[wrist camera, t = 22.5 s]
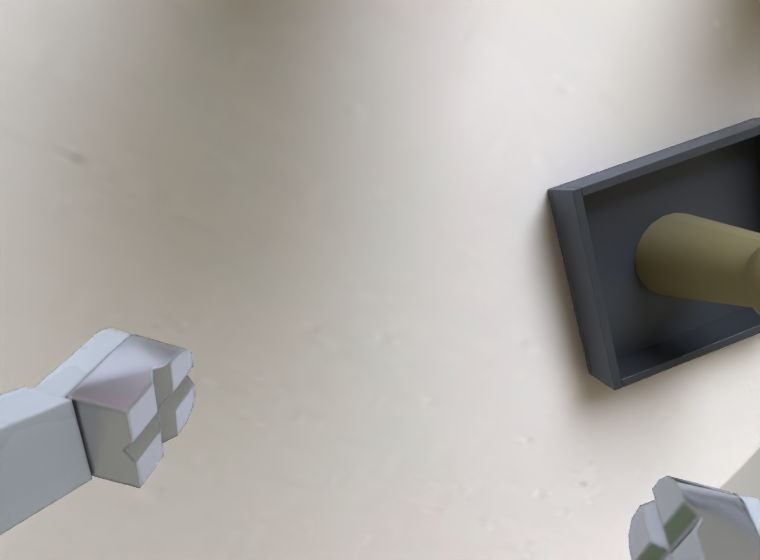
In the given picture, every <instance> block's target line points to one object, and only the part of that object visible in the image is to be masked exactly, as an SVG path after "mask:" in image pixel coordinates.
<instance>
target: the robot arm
mask: <svg viewBox="0 0 760 560" xmlns="http://www.w3.org/2000/svg"><path fill="white" fill-rule="evenodd" d="M192 367H193V360H192V352H190V351H188V350H187V349H184V348H180V347H177V346H173V345H170V344H167V343H163V342H160V341H156V340H153V339H149V338H146V337H143V336H139V335H136V334H135V335H134V334H131V333H127V332H124V331H120V330H117V329H113V328H110V327H109V328H106V329H103V330H100V331H99V332H97V333H96V334H95V335H94V336H93V337H92V338H90V339H89V340H88V341H87V342H86V343H85V344H84V345H82V346H81V347H80V348H79V349H78V350H77V351H75V352H74V353H73V354H72V355H71V356H70V357H69V358H67V359H66V360H65V361H64V362H63V363H62V364H60V365H59V366H58V367H57V368H56V369H55V370H54V371H52V372H51V373H50V374H49V375H48V376H47V377H46V378H44V379H43V380H42V381H41V382H40V383H39V384H37V385H36V386H35V387H34V388H29V387H25V386H24V387H21V388H19V389H16V390H13V391H10V392H7V393H4V394H2V395H0V535H1V534H3V533H4V532H6V531H8V530H9V529H11V528H12V527H14V526H16V525H17V524H19V523H21V522H22V521H24V520H26V519H27V518H29V517H30V516H32V515H34V514H35V513H37V512H39V511H40V510H42V509H44V508H45V507H47V506H48V505H50V504H52V503H53V502H55V501H57V500H58V499H60V498H62V497H63V496H65V495H67V494H68V493H70V492H71V491H73V490H75V489H76V488H78V487H80V486H81V485H83V484H85V483H86V482H88V481H89V480H91V479H92V476H95V477H99V478H102V479H106V480H110V481H114V482H118V483H122V484H125V485H129V486H133V487H137V488H141V486H142V485H143V484H144V482H145V481H146V479H147V478H148V477H149V475H150V474H151V472H152V471H153V470H154V468H155V467H156V465H157V464H158V463H159V461H160V460H161V458H162V457H163V447H162V443H164V442H166V441H168V440H170V439H172V438H174V437H176V436H178V434H179V433H180V431H181V430H182V428H183V427H184V426H185V424H186V423H187V420H188V418H189V415H190V413H191V411H192V408H193V404H194V398H195V385H194V383H193V382H192V381H191V379H190V378H189V377H188V375H187V374H188V372H189V371H190V370H191V369H192ZM652 490H653V494H654V497H655V500H654V501H651V502H648V503H645V504H643V505H640V506H639V508H638V509H637V511H636V513H635V514H634V516H633V517H632V520H631V525H630V530H629V550H630V555H631V559H632V560H760V499H756V498H753V497H749V496H745V495H741V494H737V493H731V492H729V491H726V490H722V489H718V488H714V487H710V486H706V485H702V484H698V483H694V482H690V481H686V480H682V479H678V478H674V477H670V476H666V477H664V478H662V479H659V481H658V482H657V483H656V485H655V486H654V487H653V488H652Z"/></svg>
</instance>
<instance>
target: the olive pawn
mask: <svg viewBox="0 0 760 560" xmlns="http://www.w3.org/2000/svg"><path fill="white" fill-rule="evenodd" d="M635 263H636V272H637V274H638V276H639V278H640V280H641V283H642V284H643V285H644V286H645V287H646V288H647V289H648V290H649V291H652V292H654V293H656V294H659V295H664V296H671V297H678V298H686V299H693V300H700V301H708V302H715V303H723V304H730V305H737V306H745V307H752V308H753V309H754V310H755V311H756V312H757V313H758V314H759V315H760V233H758V232H754V231H750V230H746V229H743V228H739V227H735V226H732V225H728V224H724V223H720V222H717V221H713V220H709V219H705V218H702V217H698V216H694V215H691V214H687V213H672V214H668V215H665V216H662V217H661V218H659V219H658V220H656V221H655V222H653V223H652V224H651V225H650V226H649V227H648V229H647V230H646V231H645V232H644V233H643V235H642V237H641V239H640V241H639V244H638V246H637V251H636V257H635Z"/></svg>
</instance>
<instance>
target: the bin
mask: <svg viewBox="0 0 760 560" xmlns="http://www.w3.org/2000/svg"><path fill="white" fill-rule="evenodd" d="M548 194H549V198H550V202H551V207H552V211H553V216H554V220H555V224H556V229H557V233H558V238H559V242H560V247H561V251H562V255H563V260H564V264H565V269H566V273H567V278H568V282H569V286H570V291H571V295H572V300H573V304H574V309H575V313H576V317H577V322H578V326H579V331H580V335H581V340H582V344H583V348H584V353H585V357H586V362H587V366H588V371H589V374H591V375H592V376H594V377H595V378H597V379H598V380H600V381H601V382H603V383H604V384H606V385H608V386H609V387H611V388H612V389H614V390H617V389H620V388H622V387H624V386H627V385H629V384H632V383H635V382H637V381H640V380H642V379H645V378H647V377H650V376H652V375H655V374H657V373H660V372H662V371H665V370H667V369H670V368H672V367H675V366H677V365H680V364H682V363H685V362H687V361H690V360H692V359H695V358H698V357H700V356H703V355H705V354H708V353H710V352H713V351H715V350H718V349H720V348H723V347H725V346H728V345H730V344H733V343H735V342H738V341H740V340H743V339H745V338H748V337H750V336H753V335H756V334H758V333H760V315H759V314H758V313H757V312H756V311H755V310H754V309H753V308H752V307H745V306H737V305H730V304H723V303H715V302H708V301H700V300H693V299H686V298H678V297H671V296H664V295H659V294H656V293H654V292H652V291H649V290H648V289H647V288H646V287H645V286H644V285H643V284H642V283H641V280H640V278H639V276H638V274H637V272H636V263H635V257H636V251H637V246H638V244H639V241H640V239H641V237H642V235H643V233H644V232H645V231H646V230H647V229H648V227H649V226H650V225H651V224H652V223H653V222H655V221H656V220H658V219H659V218H661V217H662V216H665V215H668V214H672V213H687V214H691V215H694V216H698V217H702V218H705V219H709V220H713V221H717V222H720V223H724V224H728V225H732V226H735V227H739V228H743V229H746V230H750V231H754V232H758V233H760V118H753V119H750V120H747V121H744V122H742V123H739V124H736V125H733V126H730V127H727V128H724V129H721V130H718V131H715V132H713V133H710V134H707V135H704V136H701V137H698V138H695V139H692V140H689V141H687V142H684V143H681V144H678V145H675V146H672V147H669V148H666V149H663V150H660V151H658V152H655V153H652V154H649V155H646V156H643V157H640V158H637V159H634V160H632V161H629V162H626V163H623V164H620V165H617V166H614V167H611V168H608V169H605V170H603V171H600V172H597V173H594V174H591V175H588V176H585V177H582V178H579V179H577V180H574V181H571V182H568V183H565V184H562V185H559V186H556V187H553V188H551V189H548Z"/></svg>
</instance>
